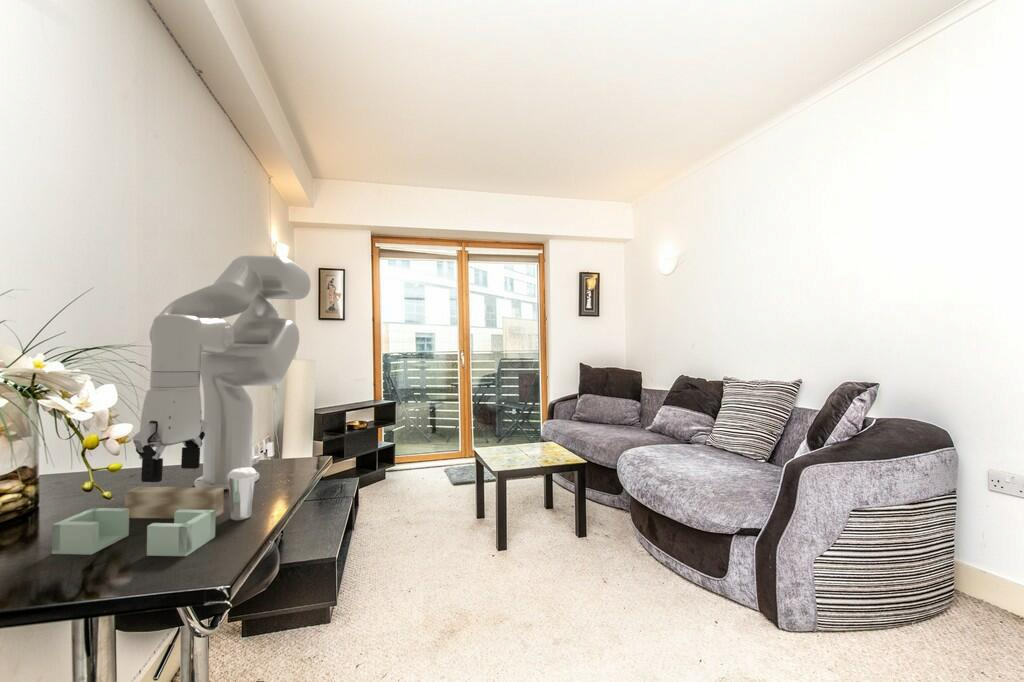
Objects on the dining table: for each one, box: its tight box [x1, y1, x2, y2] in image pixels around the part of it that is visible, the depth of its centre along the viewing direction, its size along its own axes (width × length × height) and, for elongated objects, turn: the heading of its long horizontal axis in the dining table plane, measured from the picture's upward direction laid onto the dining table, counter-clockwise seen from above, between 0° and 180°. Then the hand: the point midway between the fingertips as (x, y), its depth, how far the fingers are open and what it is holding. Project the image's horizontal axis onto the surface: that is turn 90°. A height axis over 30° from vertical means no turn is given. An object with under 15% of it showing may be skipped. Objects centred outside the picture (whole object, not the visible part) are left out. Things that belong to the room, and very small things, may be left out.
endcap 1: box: [51, 507, 130, 555], centre depth 74 cm, size 6×7×4 cm
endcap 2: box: [146, 509, 216, 557], centre depth 74 cm, size 6×7×4 cm
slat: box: [124, 486, 225, 519], centre depth 87 cm, size 16×3×5 cm, turn 91°
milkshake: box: [227, 459, 257, 521], centre depth 87 cm, size 4×5×10 cm
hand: (172, 474), depth 86 cm, fingers open, 9 cm apart
